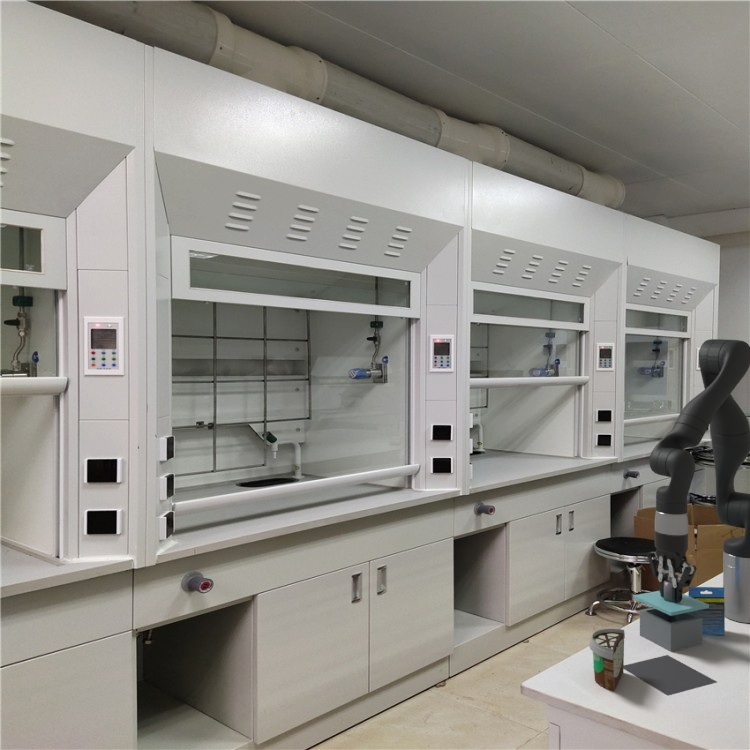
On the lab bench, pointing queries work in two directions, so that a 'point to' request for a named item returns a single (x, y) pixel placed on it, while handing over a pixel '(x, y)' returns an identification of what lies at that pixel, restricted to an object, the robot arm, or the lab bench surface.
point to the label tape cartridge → (710, 609)
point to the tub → (671, 629)
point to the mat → (668, 675)
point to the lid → (670, 601)
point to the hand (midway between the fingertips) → (670, 598)
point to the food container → (608, 656)
